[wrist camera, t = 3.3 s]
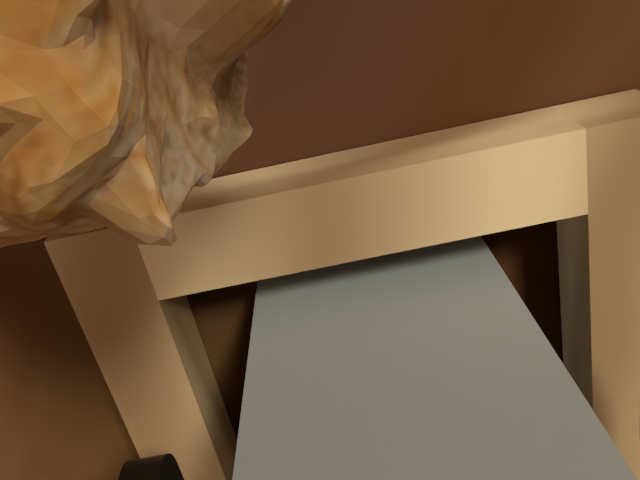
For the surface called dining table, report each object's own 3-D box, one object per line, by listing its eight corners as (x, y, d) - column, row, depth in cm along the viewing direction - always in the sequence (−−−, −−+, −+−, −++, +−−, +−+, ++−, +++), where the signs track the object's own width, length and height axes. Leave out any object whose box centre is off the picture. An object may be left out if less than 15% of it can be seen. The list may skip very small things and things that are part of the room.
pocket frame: (634, 89, 11) (682, 108, 10) (631, 459, 15) (664, 510, 13) (73, 208, 12) (43, 241, 10) (208, 533, 15) (198, 590, 14)
